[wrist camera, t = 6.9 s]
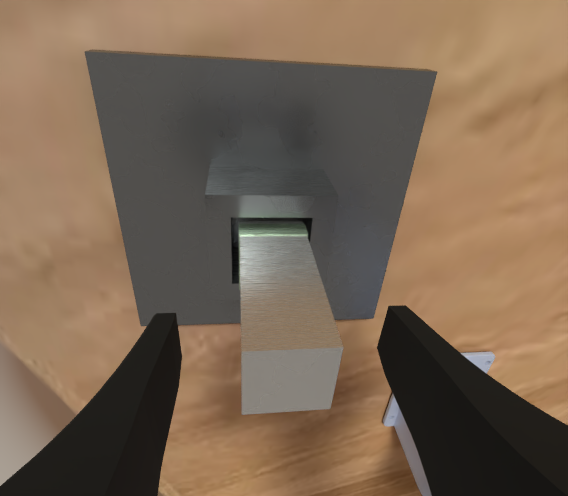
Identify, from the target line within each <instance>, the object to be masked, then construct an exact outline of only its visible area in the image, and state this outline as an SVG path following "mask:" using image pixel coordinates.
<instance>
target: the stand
mask: <svg viewBox="0 0 568 496" xmlns="http://www.w3.org/2000/svg"><path fill="white" fill-rule="evenodd" d="M85 56H86V60H87V65H88V70H89V75H90V80H91V85H92V90H93V95H94V99H95V104H96V109H97V114H98V119H99V124H100V129H101V134H102V138H103V143H104V148H105V153H106V158H107V163H108V168H109V173H110V178H111V182H112V187H113V192H114V197H115V202H116V207H117V212H118V217H119V221H120V226H121V231H122V236H123V241H124V246H125V251H126V256H127V260H128V265H129V270H130V275H131V280H132V285H133V290H134V295H135V299H136V304H137V309H138V314H139V319H140V324H141V326H148V324H149V322H150V321H151V319H152V318H153V316H154V315H155V314H156V313H176V316H177V324H178V325H193V324H223V323H241V317H240V290H239V224H240V221H302V222H303V224H305V226H306V229H307V232H308V240H309V243H310V246H311V249H312V252H313V255H314V258H315V262H316V265H317V268H318V271H319V274H320V277H321V280H322V283H323V286H324V289H325V292H326V295H327V298H328V301H329V304H330V307H331V310H332V314H333V317H334V320H342V319H372V318H374V314H375V310H376V306H377V303H378V299H379V295H380V291H381V287H382V283H383V279H384V276H385V272H386V268H387V264H388V260H389V256H390V252H391V248H392V245H393V241H394V237H395V233H396V229H397V225H398V221H399V218H400V214H401V210H402V206H403V202H404V198H405V194H406V191H407V187H408V183H409V179H410V175H411V171H412V167H413V164H414V160H415V156H416V152H417V148H418V144H419V140H420V136H421V133H422V129H423V125H424V121H425V117H426V113H427V109H428V106H429V102H430V98H431V94H432V90H433V86H434V82H435V79H436V75H437V72H436V71H432V70H428V69H413V68H396V67H378V66H361V65H344V64H327V63H310V62H293V61H276V60H259V59H242V58H225V57H208V56H191V55H174V54H157V53H139V52H122V51H105V50H89V51H85Z"/></svg>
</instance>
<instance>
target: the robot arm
mask: <svg viewBox="0 0 568 496" xmlns="http://www.w3.org/2000/svg"><path fill="white" fill-rule="evenodd" d="M377 349H378V352H379V356H380V360H381V363H382V366H383V370H384V373H385V376H386V378H387V381H388V383H389V385H390V388H391V390H392V392H393V393H392V396H391V399H390V402H389V404H388V407H387V410H386V413H385V416H384V419H383V423H384V425H385V426H394V427H395V430H396V432H397V435H398V437H399V440H400V443H401V445H402V448H403V450H404V453H405V456H406V458H407V461H408V463H409V466H410V468H411V471H412V474H413V476H414V479H415V481H416V484H417V486H418V488H419V491H420V492H421V494H422V496H568V425H566V424H564V423H562V422H561V421H559V420H557V419H555V418H554V417H552V416H550V415H549V414H547V413H545V412H544V411H542V410H540V409H539V408H537V407H535V406H534V405H532V404H530V403H529V402H527V401H526V400H524V399H523V398H521V397H519V396H518V395H516V394H515V393H513V392H512V391H511V390H509V389H508V388H506V387H505V386H503V385H502V384H500V383H499V382H497V381H496V380H495V379H493V378H492V377H490V376H489V375H488V374H487V372H488V370H489V368H490V366H491V364H492V362H493V361H494V359H495V355H494V354H493V353H492V352H471V353H460V352H458V351H457V350H456V349H455V348H454V347H452V346H451V345H450V344H449V343H448V342H447V341H445V340H444V339H443V338H442V337H441V336H440V335H439V334H437V333H436V332H435V331H434V330H433V329H432V328H431V327H429V326H428V325H427V324H426V323H425V322H424V321H423V320H422V319H420V318H419V317H418V316H417V315H416V314H415V313H414V312H413V311H411V310H410V309H409V308H408V307H407V306H389V307H388V310H387V314H386V318H385V321H384V325H383V328H382V332H381V335H380V339H379V342H378V346H377ZM181 360H182V354H181V346H180V339H179V331H178V324H177V316H176V313H156V314H155V315H154V316H153V318H152V319H151V321H150V322H149V324H148V326H147V327H146V329H145V330H144V332H143V333H142V335H141V336H140V338H139V339H138V341H137V342H136V344H135V345H134V346H133V348H132V349H131V351H130V352H129V353H128V355H127V356H126V357H125V359H124V360H123V361H122V363H121V364H120V366H119V367H118V368H117V369H116V371H115V372H114V373H113V374H112V376H111V377H110V378H109V379H108V380H107V382H106V383H105V384H104V385H103V387H102V388H101V389H100V390H99V391H98V393H97V394H96V395H95V396H94V397H93V398H92V399H91V401H90V402H89V403H88V404H87V405H86V406H85V407H84V408H83V409H82V410H81V411H80V412H79V414H78V415H77V416H76V417H75V418H74V419H73V420H72V421H71V422H70V423H69V424H68V425H67V426H66V427H65V428H64V429H63V430H62V431H61V432H60V433H59V434H58V435H57V436H56V437H55V438H54V439H53V440H52V441H51V442H50V443H49V444H48V445H46V446H45V447H44V448H43V449H42V450H41V451H40V452H39V453H38V454H37V455H36V456H35V457H33V458H32V459H31V460H30V461H29V462H28V463H27V464H25V465H24V466H23V467H22V468H21V469H20V470H19V471H17V472H16V473H15V474H14V475H13V476H12V477H10V478H9V479H8V480H7V481H6V482H5V483H3V484H2V485H1V486H0V496H157V495H158V487H159V479H160V472H161V466H162V461H163V455H164V451H165V446H166V442H167V437H168V433H169V428H170V424H171V419H172V415H173V410H174V406H175V401H176V397H177V392H178V387H179V379H180V370H181Z"/></svg>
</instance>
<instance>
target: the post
mask: <svg viewBox="0 0 568 496" xmlns="http://www.w3.org/2000/svg"><path fill="white" fill-rule="evenodd" d="M239 290H240V317H241V396H242V415H246V414H261V413H276V412H292V411H307V410H322V409H331V404H332V399H333V395H334V390H335V385H336V380H337V376H338V371H339V366H340V361H341V357H342V352H343V344H342V341H341V338H340V335H339V332H338V329H337V326H336V323H335V320H334V317H333V314H332V310H331V307H330V304H329V301H328V298H327V295H326V292H325V289H324V286H323V283H322V280H321V277H320V274H319V271H318V268H317V265H316V262H315V258H314V255H313V252H312V249H311V246H310V243H309V240H308V232H307V229H306V226H305V224H303V222H302V221H240V224H239Z"/></svg>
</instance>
